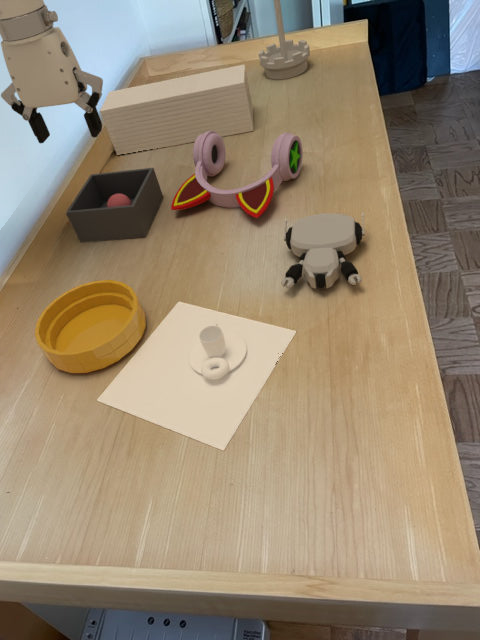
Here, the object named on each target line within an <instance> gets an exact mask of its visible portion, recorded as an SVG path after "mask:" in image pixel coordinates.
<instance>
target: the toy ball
mask: <svg viewBox="0 0 480 640" xmlns="http://www.w3.org/2000/svg"><path fill="white" fill-rule="evenodd" d="M127 205H132V203H131V200H130V199H129V198H128V197H127V196H126V195H124V194H114V195H112V196H111V197H110V198H109V200H108V202H107V207H116V206H127Z"/></svg>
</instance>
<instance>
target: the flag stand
mask: <svg viewBox="0 0 480 640" xmlns="http://www.w3.org/2000/svg"><path fill="white" fill-rule="evenodd" d="M273 6H274V14H275V20H276V21H275V22H276V28H277V34H278V35H277V36H278V42H279V46H277V45H276V43H272V44H269V45H266V46H265V48H266V51H265V50H264V49H261V50H259V52H258V60H259V66H260V67H262V68H263V69H264V71H265V72H264V73H265V76H266V78H267V79H271V80H286V79H292V78H295V77H297V76H299V75H302V74H303V73H305V72H306V71H307V69H308V59H309V58H310V56H311V50H310V44H308V41H307V40H304V39H300V40H298V41H297V42H298V43H294V39H286V36H285V35H286V34H285V29H284V28H285V27H284V20H283V12H282V5H281V0H273Z"/></svg>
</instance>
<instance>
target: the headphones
mask: <svg viewBox="0 0 480 640" xmlns="http://www.w3.org/2000/svg"><path fill="white" fill-rule="evenodd" d="M193 143H194V144H193V148H192V158H193V159H192V160H193V164H194V166H195V169H194V173H193V174H192V175H191V176H190V177H189V178H187V179H186V180H185V181H184V182H183V183H182V184H181V186H180V187H179V188H178V190H177V191H176V193H175V195H174V197H173V199H172V202H171V207H170V210H171V211H181V210H186V209H191V208H193V207H196V206H199V205H201V204H204V203H205V202H207V201H209V202H210V203H212V204H213V205H215V206H217V207H221V208H227V209H229V208H230V209H231V208H232V209H235V208H241V209H242V210H243V211H244V212H245V213H246V214H247V215H248V216H250V217H253V218H255V219H258V218H259V217H261V216H262V215H263V214H264V213H265V212H266V210H267V209H268V208H269V205H270V204H271V202H272V200H273V197H274V193H275V191H276V190H277V189H278V187H279V186H280V185H281V184H282V182H283V181H284V182H288V181H289V180H291V179H296V178H297V177H298V176H299V175H300V172H301V168H302V166H303V165H302V164H303V159H304V158H303V156H304V155H303V153H304V152H303V150H304V149H303V143H302V140H301V138H300V137H299V136H298V135H294V134H293V133H291V132H283V133H281V134H280V135H278V136H277V137H276V139H275V140H274V142H273V145H272V148H271V154H270V156H271V157H270V163H271V164H270V165H271V169H270V170H269V171H268V172H267V173H265V175H264V176H262V177H261V178H259V179H258V180H256V181H254V182H252V183H249V184H247V185H245V186H241V187H238V188H233V189H220V188H217V187H214V186H212V185H211V184H210V183H209V182H208V177H215V176H217V175H218V174H219V173H220V172H221V171H222V170H223V168H224V166H225V162H226V155H227V154H226V152H227V151H226V145H225V141H224V140H223V138H222V137H220V136H219V135H218V134H217V133H216V132H214V131H207V132H205V133H204V134H200V135H199V136H198V137H197V139H196V141H195V142H193Z"/></svg>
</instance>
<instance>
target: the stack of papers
mask: <svg viewBox="0 0 480 640" xmlns="http://www.w3.org/2000/svg"><path fill="white" fill-rule="evenodd" d="M99 112H100V115H101V118H102V120H103V123H104V126H105V128H106V131H107V133H108V136H109V138H110V140H111V141H110V142H111V144H112V147H113V148H114V152H115V154H116V156H117V155H120V154H125V155H127V154H126V153H131V154H133V153H132V152H136V153H139V152H138V151H142V152H144V151H143V150H147V151H151V150H150V149H153V150H157V148H158V149H163V147H164V148H169V147H174V146H180V145H185V144H190V143H195V141H196V139H197V137H198V136H199V135H200V134H204V133H205V132H207V131H214V132H216V133H217V134H218V135H219V136H220V137H221V138H222V137H223V138H224V137H227V136H233V135H238V134H239V135H240V134H244V133H249V132H254V107H253V102H252V96H251V90H250V85H249V80H248V75H247V69H246V64H239V65H234V66H229V67H226V68H220V69H215V70H209V71H205V72H200V73H195V74H191V75H185V76H180V77H176V78H170V79H166V80H165V79H164V80H161V81H155V82H151V83H146V84H141V85H136V86H132V87H127V88H121V89H117V90H112V91H108V93H107V95H106V98H105V100H104V102H103V103H102V106H101V108H100V110H99ZM120 156H121V155H120Z"/></svg>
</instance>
